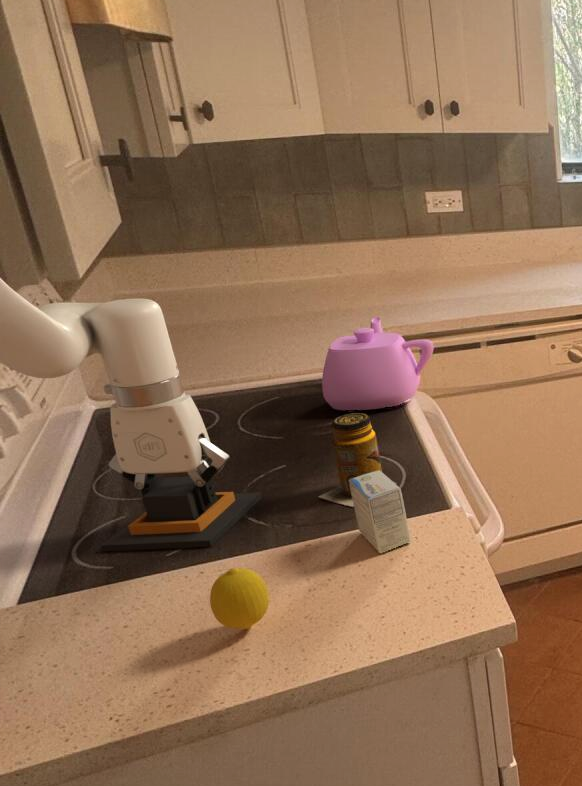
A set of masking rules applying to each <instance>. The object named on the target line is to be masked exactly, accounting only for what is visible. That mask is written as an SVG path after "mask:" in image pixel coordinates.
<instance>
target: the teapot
mask: <svg viewBox="0 0 582 786" xmlns="http://www.w3.org/2000/svg"><path fill="white" fill-rule="evenodd" d="M382 329H383V328H382V321H381V318H380V317H378V316H376V317H373V318H372V319H371V321H370V327H361V328H357V329H354V331H353V332H352V333H353V334H351V335H343V336H340V337H338V338H336V339H335V340H334V341H333V342H332V343H331V344H330V346H329V347H328V350H327V352H326V353H327V354H326V357H325V360H324V365H323V370H322V376H321V377H322V379H321V386H322V387H321V388H322V395H323V398H324V400H325V401H326V403H327V404H328V405H329V406H330V407H331V408H332V409H333V410H336V411H346V410H358V411H368V410H378V409H386V408H385V407H392V406H397V405H399V406H401V405H403V404H402V403H403V402H404V401H406V400H408V399H410V398H412V397H413V396H414V397H415V396H416V393H417V391H418V388H419V386H420V383H421V382H420V381H421V373H422V371H424V369H425V368H426V366H427V365H428V363H429V362H430V360H431V358H432V357H433V353H434V347H435V346H434V343H433V341H431V340H429V339H425V338H424V339H423V338H422V339H421V338H420V339H414V340H409V341H406V340H405V339H404V338H403V337H402V335H401V334H400V333H397V332H383V330H382ZM411 348H419V349H420V351H421V354H420V358H419V361H418V363H417V360H416V357H415V356H414V354H413V351H412V350H411ZM414 397H413V398H414ZM413 398H412V399H413ZM400 404H401V405H400ZM397 407H398V406H397Z"/></svg>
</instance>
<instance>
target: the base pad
mask: <svg viewBox="0 0 582 786" xmlns="http://www.w3.org/2000/svg"><path fill="white" fill-rule="evenodd" d="M215 493H216V496H217V501H216V502H215V504H213V505H212V506H211V507H210V508H209V509H208V510H207V511H205V512H203V513H202V514H201V515H200V516H199V517H198V518H196V519H195V520H189V521H168V522H149V519H148V516H147V513H146V510H145V509H144V511H143V512H141V513H140V514H139V515H137V516H136V517H135V518H134V519H132V520H131V521H130V522H129V523H127V524H126V525H125V526H123V527H122V528H121V529H120V530H118V531H117V532H116V533H114V534H113V535H112V536H111V537H109V538H108V539H107V540H105V541H104V542H103V543H101V544H100V549H101V551H102V552H123V551H125V552H127V551H144V550H145V551H146V550H147V551H148V550H166V549H169V550H170V549H189V548H211V547H213V546H214V545H215V543H217V542H218V541H219V540H220V539H221V538H222V536H224V535H225V534H226V533H227V532H228V531H229V530H230V529H231V528H232V527H233V526H234V525H235V524H236V523H238V522H239V520H241V519H242V518H243V517H244V516H245V515H246V514H247V513H248V512H249V511H250V510H251V509H252V508H253V507H255V505H256V504H257V503H258V502H259V501H261V499H262V494H261V492H240V493H237V492H236V493H234V491H219V492H217V491H215Z"/></svg>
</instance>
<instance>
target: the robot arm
mask: <svg viewBox="0 0 582 786" xmlns="http://www.w3.org/2000/svg"><path fill="white" fill-rule="evenodd" d="M94 354H99V355H100V356H101V358H102V362H103V365H104V368H105V371H106V375H107V378H108V381H109V383H106V384H105V385H104V387H103V391H104V393H105V394H108V395H109V394H111V395H113V399H114V401H115V402H114V403H113V404H111V405H110V427H111V428H110V429H111V435H112V441H113V446H114V451H115V454H114V455H113V457H112V458H111V460H110V461H109V462H108V467H110V468H111V470H114V471H115V472H117V473H119V474H122V477H123V478H125V479H127V480H128V481H130V482H131V483H132V484H133V486H134V487H135V489H136V490H140V491H141V495H142V497H143V496H144V495H145V494H147V493H148V492H150V491H151V490H152V489H154V488H155V487H156V486H158V485H159V484H160V483H162V482H163V481H161V479H156V478H157V475H158V474H178V473H179V474H181V473H186V474H187V475H188V477H191V479H192V480H193V481H194V483H195V484H196V486H195V487H193V491H194V494H195V497H196V501H197V504H198V508H199V511H200V512H205V511H207V510H208V509H209V508H210V507H211V506H212V505H213V504H215V502H216V494H215V492H216V489H215V486H214V487H213V485H214V482H213V479H214V478H215V476H216V475H217V474H218V473H219V471H220V470H221V469H222V467H223V466H224V465H225V464H226V463H227V462H228V461H229V459H230V455H229V454H228V453H226V452H225V451H223V450H222V449H220V448H219V447H218V446H216V445H215V444H213V443H211V440H210V437H209V434H208V431H207V428H206V426H205V423H204V420H203V417H202V415H201V414H200V412H199V409H198V407H197V405H196V403H195V401H194V400H193V398H192V396H191V395H190V394H186V393H185V388H184V386H183V381H182V378H181V374H180V371H179V368H178V364H177V360H176V357H175V353H174V350H173V346H172V342H171V339H170V335H169V332H168V327H167V324H166V320H165V316H164V313H163V311H162V308H161V306H160V304H159V303H157V302H156V301H154V300H152V299H150V298H140V297H139V298H138V297H137V298H123V299H116V300H110V301H107V302H71V301H70V302H52V303H46V304H43V305H40V306H38V307H37V306H35V305H34V304H32V303H31V302H29V301H28V300H27V299H26V298H24V297H23V296H21V294H19V293H18V292H16V291H15V290H14V289H13V288H12V287H11V286H9V285H8V284H7V283H6V282H5V281H4V280H3V279H2V278H1V277H0V364H2V365H3V366H5V367H6V368H9V369H11V370H12V371H15V372H17V373H19V374H22V375H24V376H28V377H32V378H35V379H54V378H58V377H63V376H67V375H68V374H70V373H71V372H74V370H76V369H77V368H78V367H79V366H80V365H81V364H82V363H83V362H84V360H85V359H87V358H89V357H90V356H92V355H94ZM208 459H211V463H210V464H209V463H207V461H206V460H208ZM212 482H213V483H212ZM214 489H215V490H214Z"/></svg>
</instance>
